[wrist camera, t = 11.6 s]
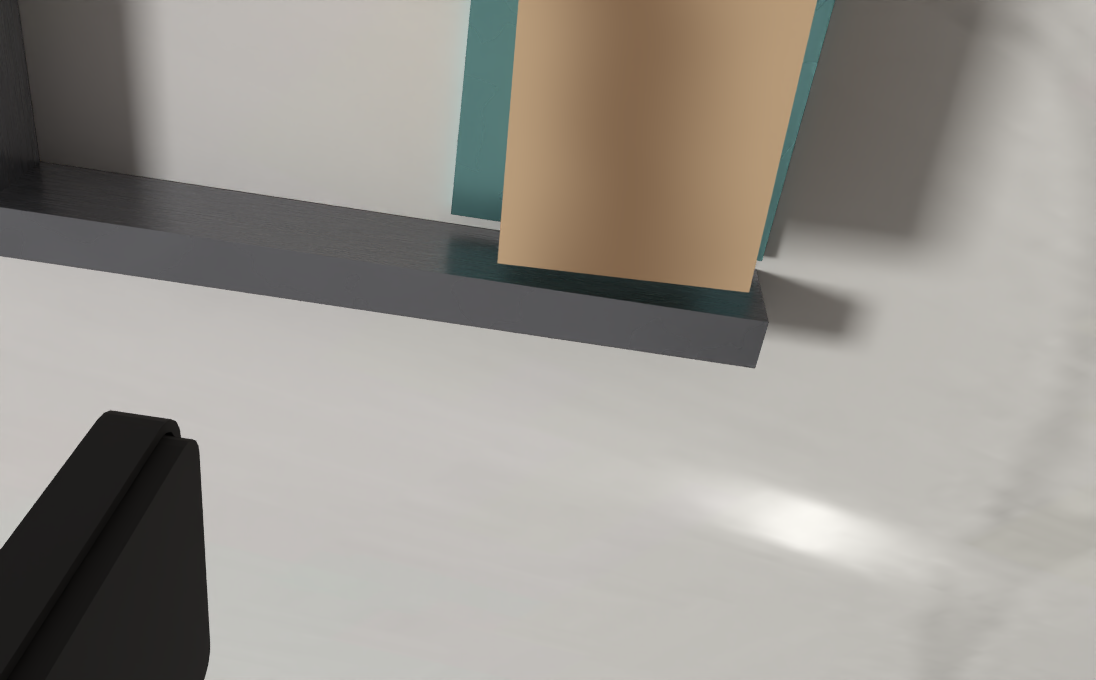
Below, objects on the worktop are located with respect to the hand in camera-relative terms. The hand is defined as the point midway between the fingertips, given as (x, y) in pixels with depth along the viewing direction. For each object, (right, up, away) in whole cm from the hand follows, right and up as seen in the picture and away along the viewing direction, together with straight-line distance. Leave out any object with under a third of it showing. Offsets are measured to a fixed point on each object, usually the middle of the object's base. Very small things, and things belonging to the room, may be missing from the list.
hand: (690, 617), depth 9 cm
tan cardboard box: (+1, +10, +17) cm, 20 cm away
